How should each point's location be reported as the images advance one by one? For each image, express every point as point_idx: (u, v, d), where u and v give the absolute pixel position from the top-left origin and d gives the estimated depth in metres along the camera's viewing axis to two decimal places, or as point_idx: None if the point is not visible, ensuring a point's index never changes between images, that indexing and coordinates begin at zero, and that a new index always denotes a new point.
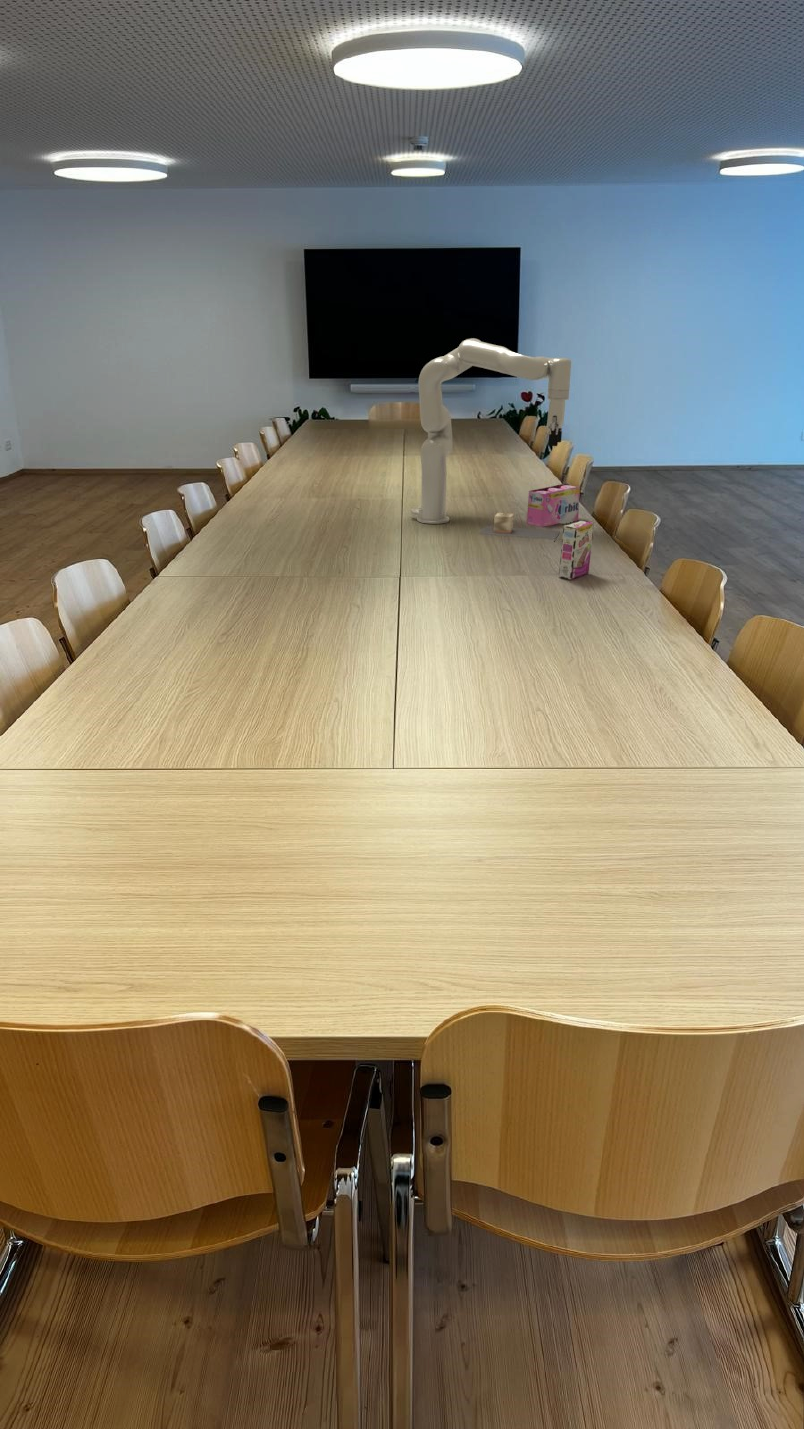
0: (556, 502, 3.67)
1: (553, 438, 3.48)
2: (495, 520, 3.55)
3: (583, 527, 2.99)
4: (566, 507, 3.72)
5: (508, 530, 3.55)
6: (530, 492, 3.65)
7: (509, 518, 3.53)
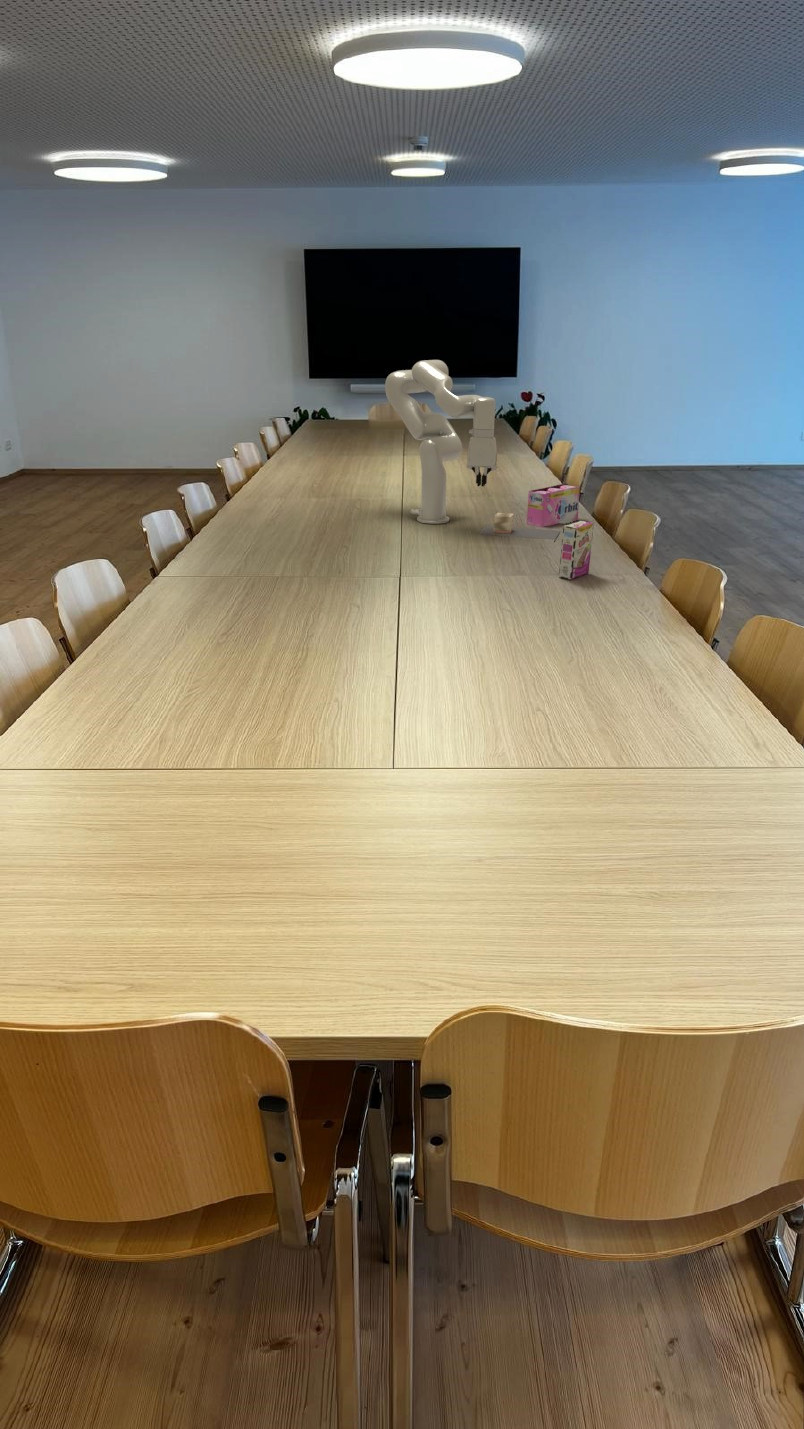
0: (556, 502, 3.67)
1: (486, 478, 3.53)
2: (495, 520, 3.55)
3: (583, 527, 2.99)
4: (566, 507, 3.72)
5: (508, 530, 3.55)
6: (530, 492, 3.65)
7: (509, 518, 3.53)
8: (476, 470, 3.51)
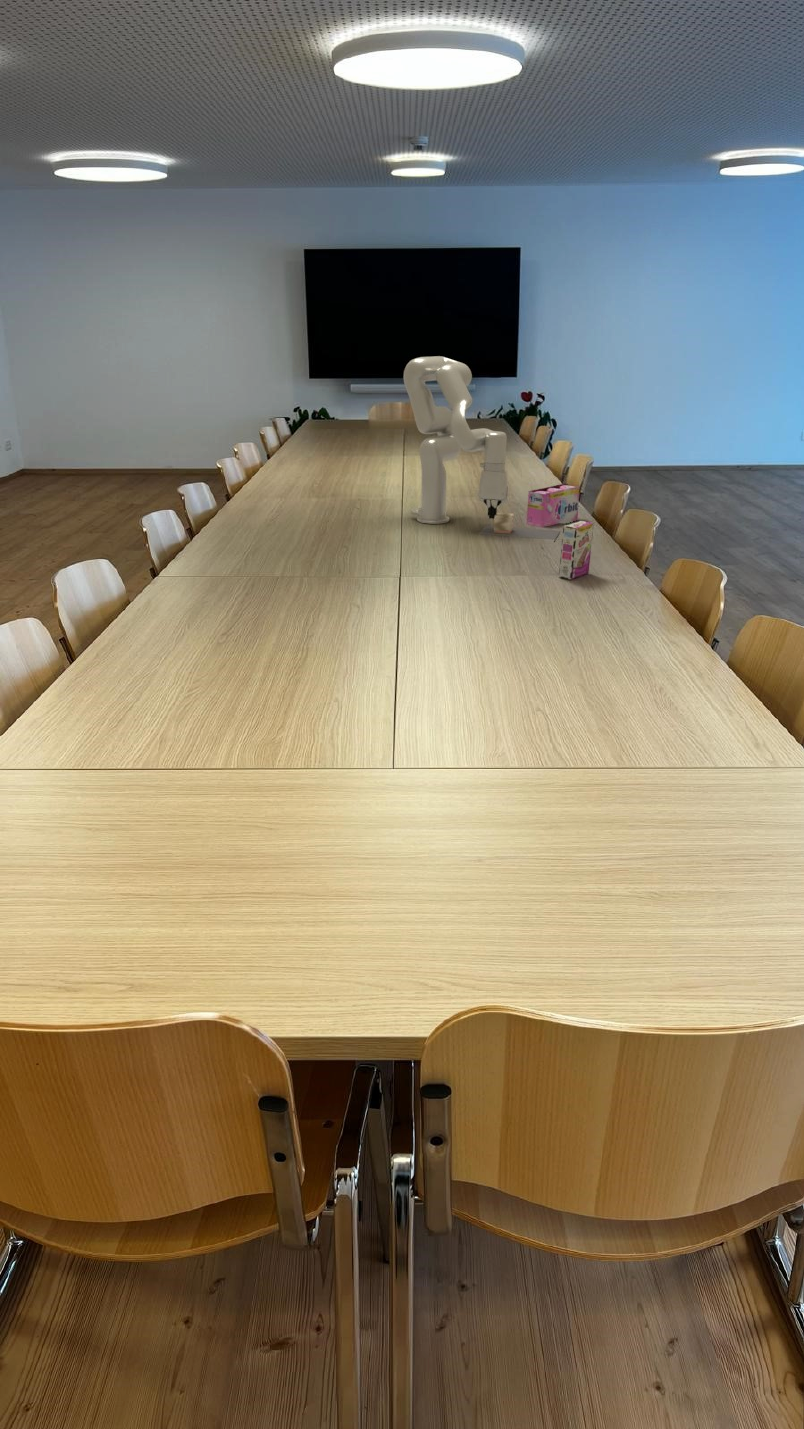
0: (556, 503, 3.67)
1: (496, 510, 3.56)
2: (495, 520, 3.55)
3: (583, 527, 2.99)
4: (566, 508, 3.72)
5: (508, 530, 3.55)
6: (530, 492, 3.65)
7: (509, 518, 3.53)
8: (488, 503, 3.55)
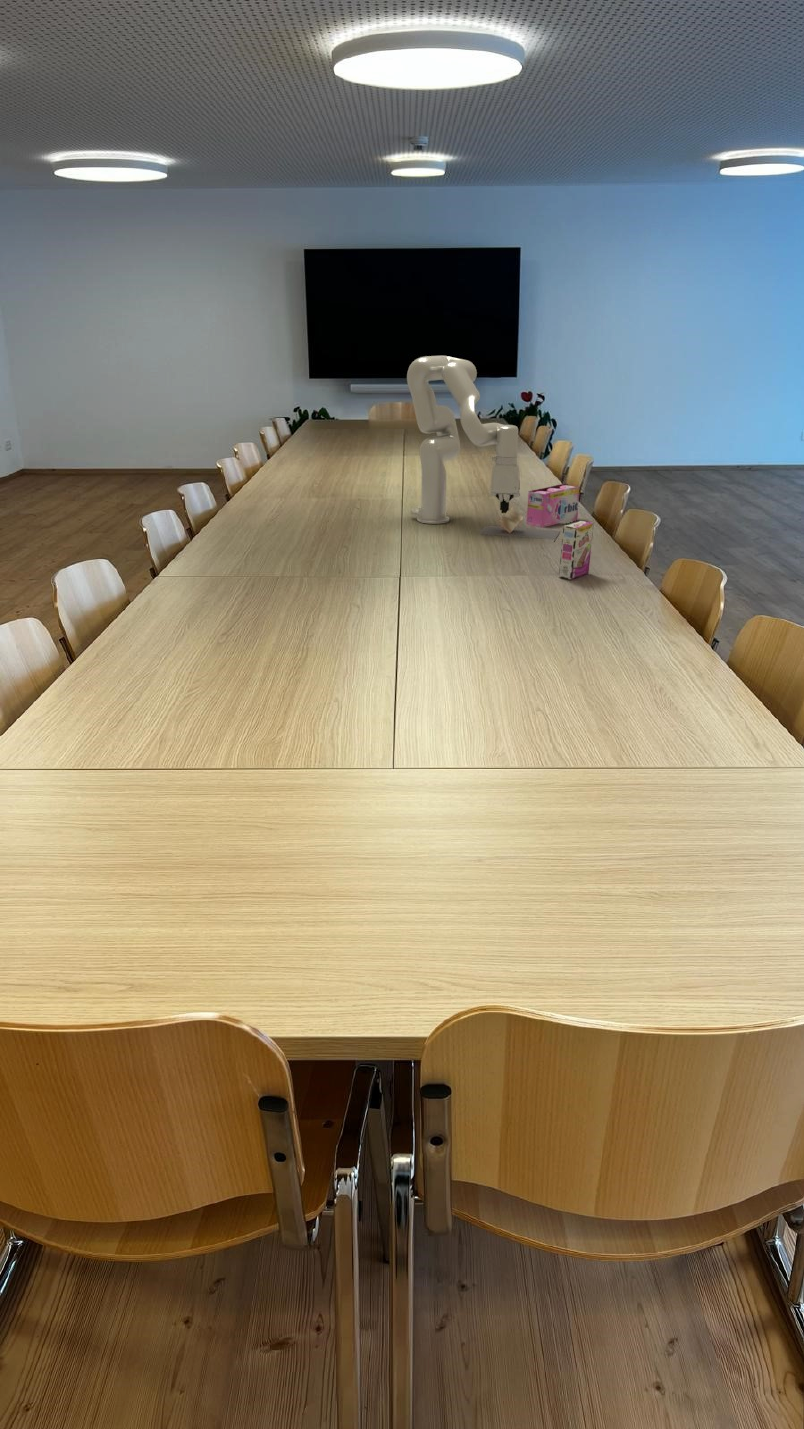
0: (556, 503, 3.67)
1: (508, 505, 3.54)
2: (506, 514, 3.53)
3: (583, 527, 2.99)
4: (566, 508, 3.72)
5: (510, 530, 3.55)
6: (530, 492, 3.65)
7: (518, 521, 3.53)
8: (500, 497, 3.53)
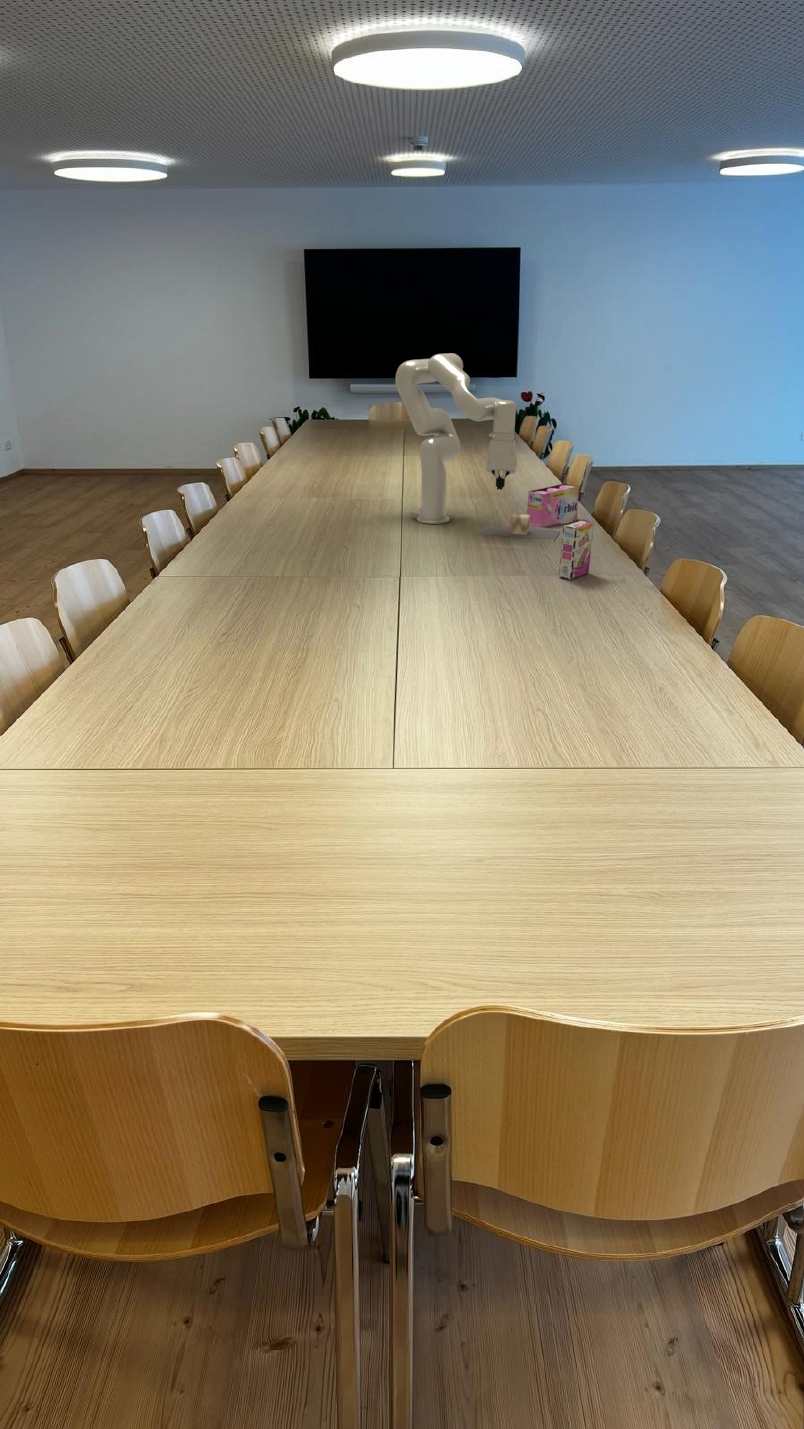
0: (556, 503, 3.67)
1: (504, 481, 3.52)
2: (522, 519, 3.52)
3: (583, 527, 2.99)
4: (566, 508, 3.72)
5: (512, 532, 3.55)
6: (530, 492, 3.64)
7: (524, 533, 3.54)
8: (496, 473, 3.50)
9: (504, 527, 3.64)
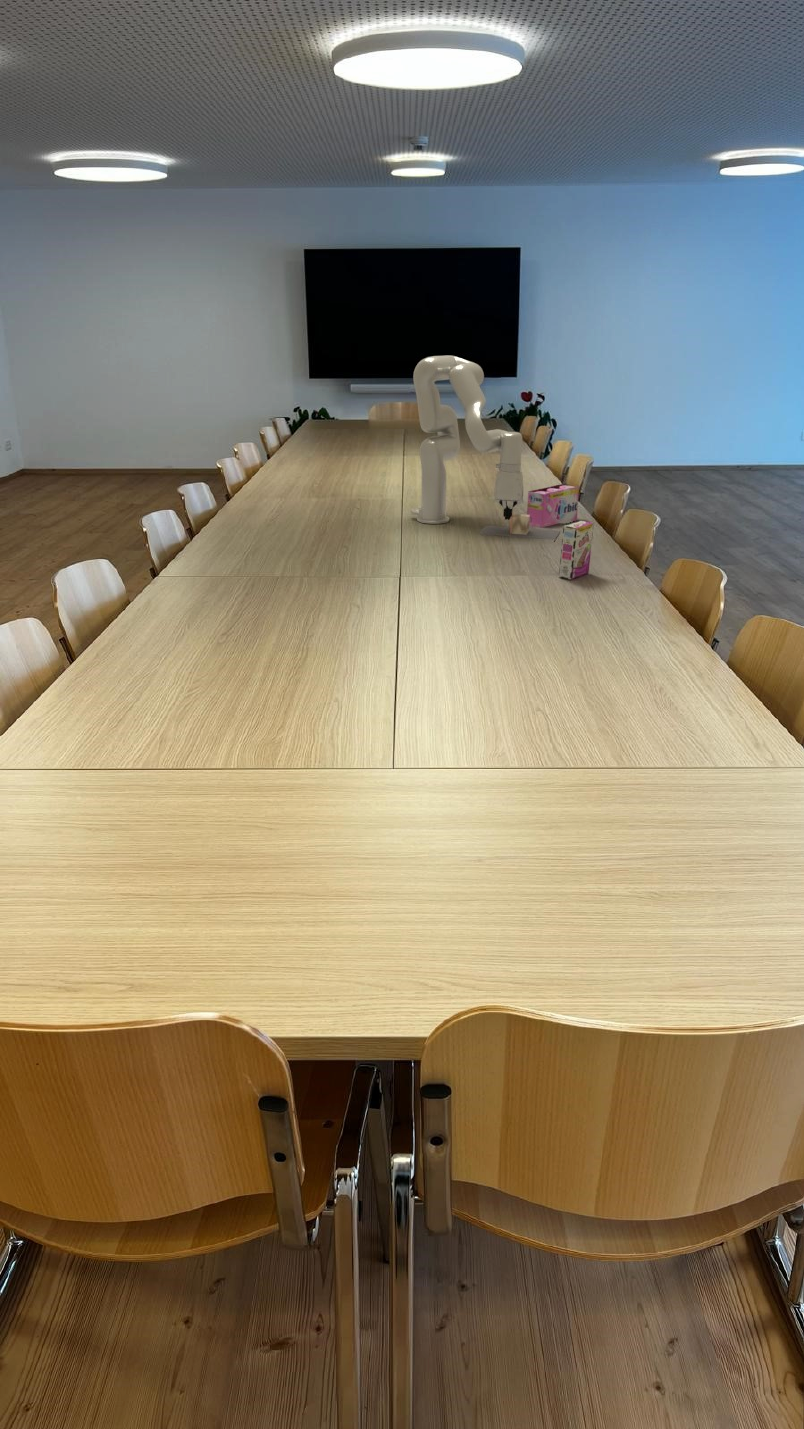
0: (556, 503, 3.67)
1: None
2: (522, 519, 3.52)
3: (583, 527, 2.99)
4: (566, 508, 3.72)
5: (512, 532, 3.55)
6: (530, 492, 3.64)
7: (524, 533, 3.54)
8: (504, 504, 3.53)
9: (504, 527, 3.64)
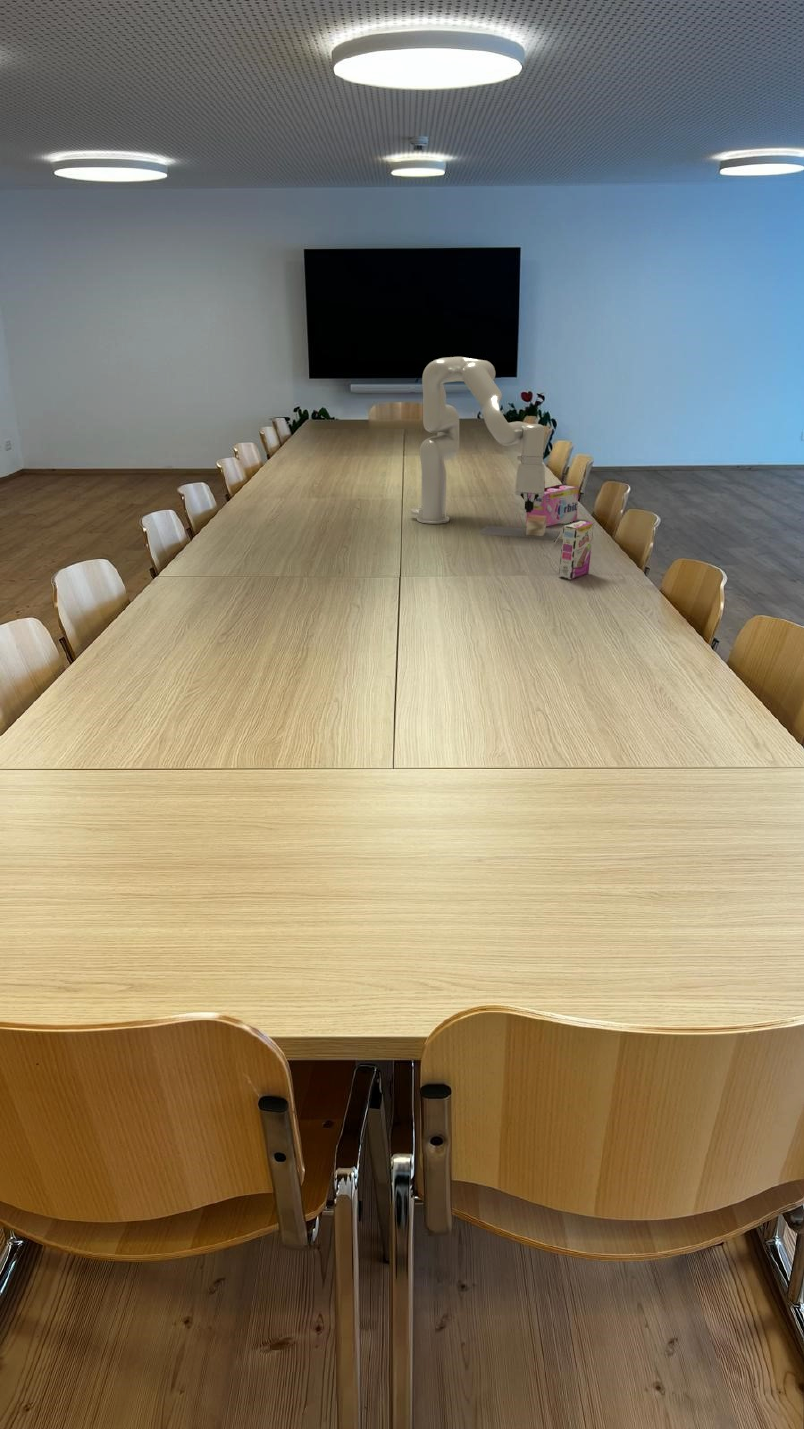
0: (556, 503, 3.66)
1: (533, 504, 3.52)
2: (541, 531, 3.52)
3: (583, 527, 2.99)
4: (565, 508, 3.72)
5: (528, 521, 3.52)
6: (529, 493, 3.64)
7: (527, 533, 3.53)
8: (525, 496, 3.50)
9: (504, 527, 3.64)
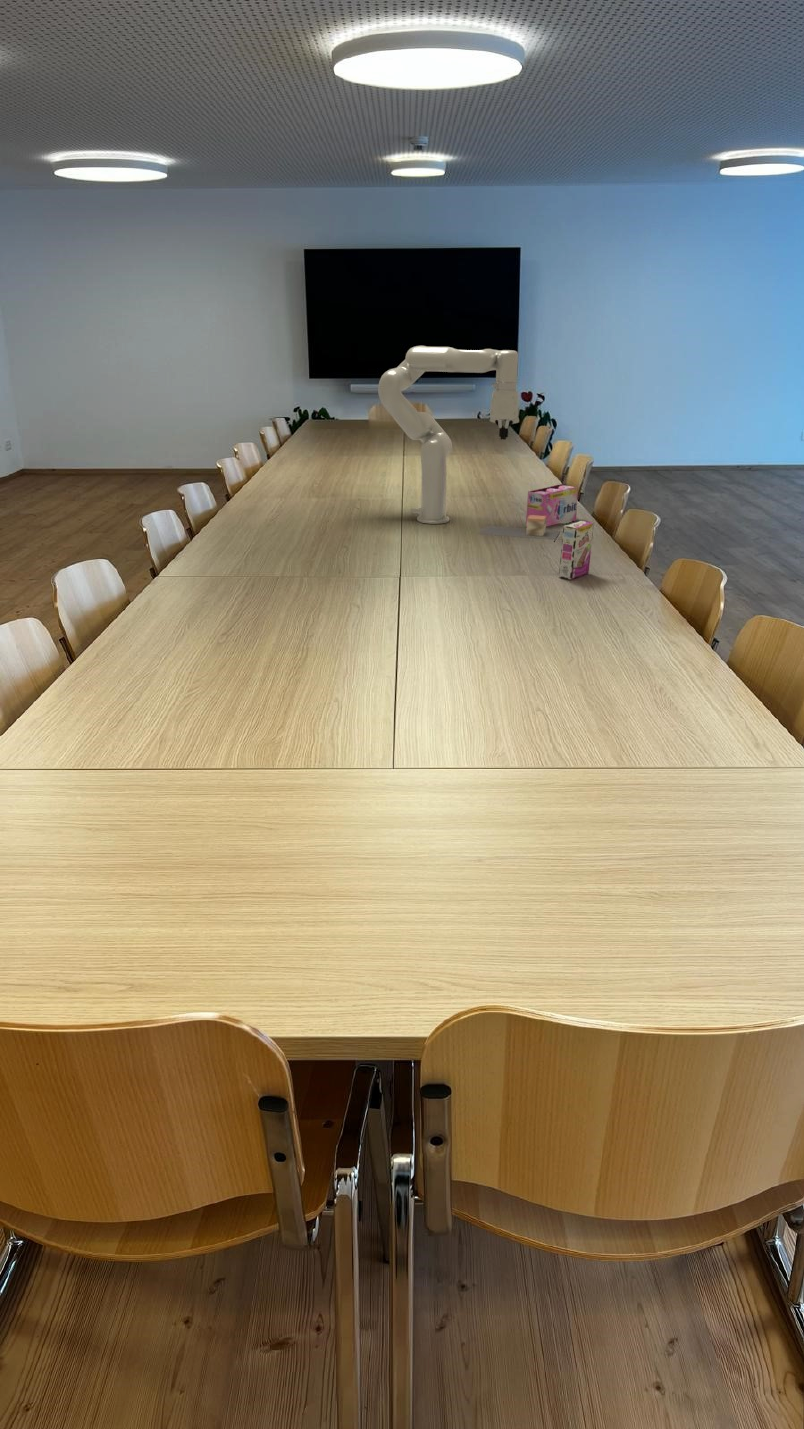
0: (556, 503, 3.66)
1: (507, 431, 3.57)
2: (541, 531, 3.52)
3: (583, 527, 2.99)
4: (565, 508, 3.72)
5: (528, 521, 3.52)
6: (529, 493, 3.64)
7: (527, 533, 3.53)
8: (499, 423, 3.55)
9: (504, 527, 3.64)
